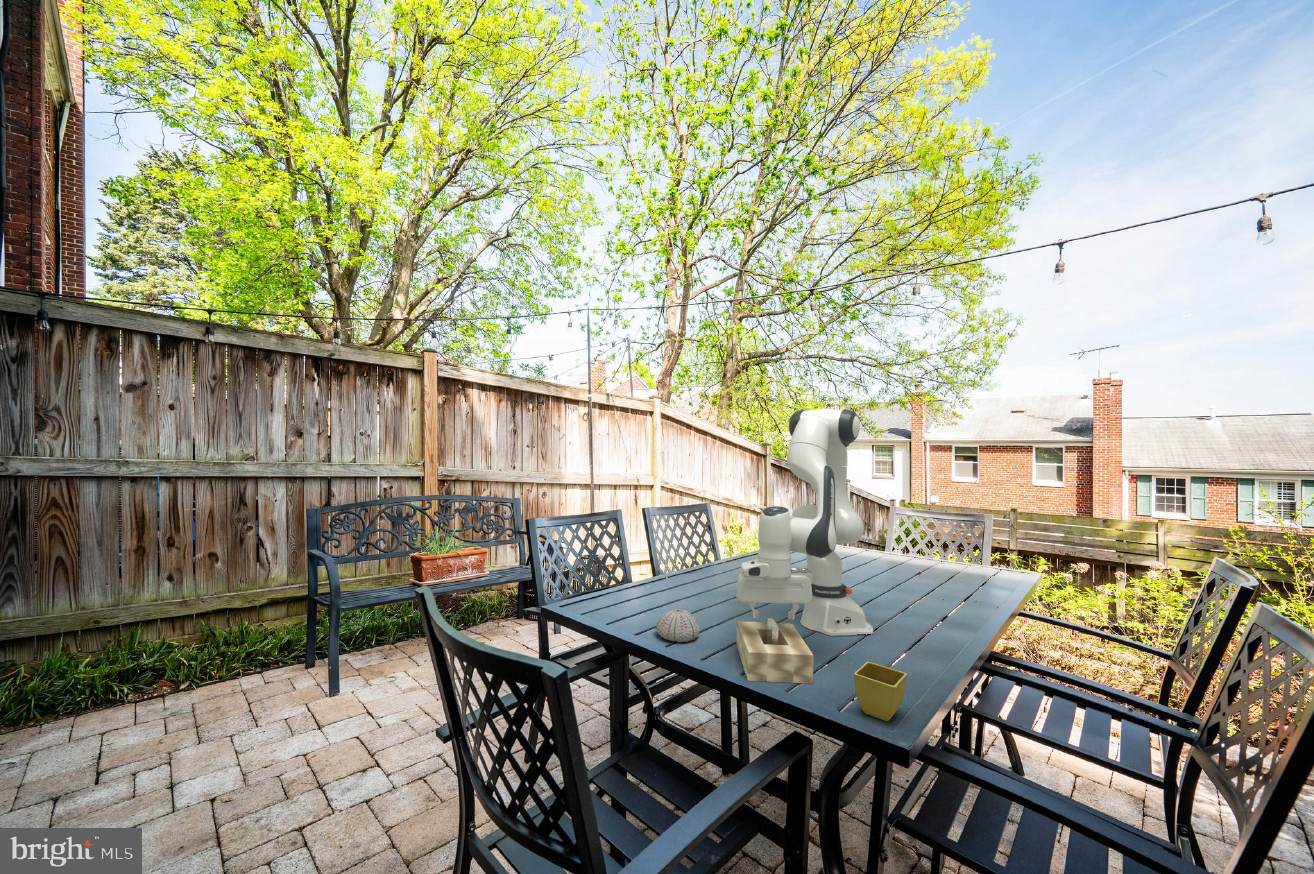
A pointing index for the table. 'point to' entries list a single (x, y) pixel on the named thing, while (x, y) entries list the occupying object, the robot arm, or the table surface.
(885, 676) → the flower pot
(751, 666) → the well block
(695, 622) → the sea urchin shell
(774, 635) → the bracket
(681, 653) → the table surface
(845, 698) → the table surface
